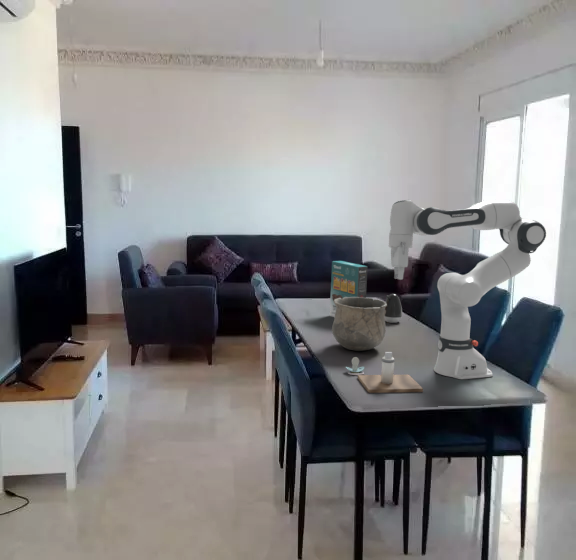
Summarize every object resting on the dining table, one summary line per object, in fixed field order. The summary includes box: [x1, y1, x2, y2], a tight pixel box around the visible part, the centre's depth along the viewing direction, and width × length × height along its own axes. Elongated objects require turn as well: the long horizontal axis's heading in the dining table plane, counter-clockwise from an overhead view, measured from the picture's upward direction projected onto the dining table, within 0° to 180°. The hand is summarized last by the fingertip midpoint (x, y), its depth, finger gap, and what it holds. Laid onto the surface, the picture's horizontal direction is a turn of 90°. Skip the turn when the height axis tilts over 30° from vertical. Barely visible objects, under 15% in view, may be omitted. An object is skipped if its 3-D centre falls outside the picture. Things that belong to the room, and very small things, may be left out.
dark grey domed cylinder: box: [385, 293, 403, 324], centre depth 328 cm, size 10×10×15 cm
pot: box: [331, 297, 387, 352], centre depth 275 cm, size 25×24×21 cm
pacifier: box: [345, 356, 365, 376], centre depth 241 cm, size 7×6×6 cm
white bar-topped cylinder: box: [380, 351, 396, 384], centre depth 228 cm, size 5×5×11 cm
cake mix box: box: [329, 260, 368, 318], centre depth 330 cm, size 22×6×30 cm, turn 34°
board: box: [357, 374, 424, 394], centre depth 230 cm, size 20×16×1 cm
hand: (398, 279), depth 236 cm, fingers open, 8 cm apart
